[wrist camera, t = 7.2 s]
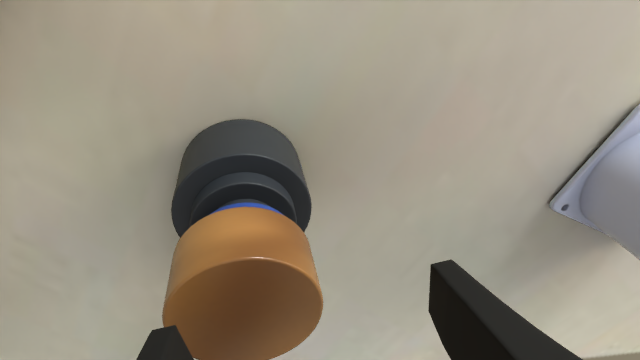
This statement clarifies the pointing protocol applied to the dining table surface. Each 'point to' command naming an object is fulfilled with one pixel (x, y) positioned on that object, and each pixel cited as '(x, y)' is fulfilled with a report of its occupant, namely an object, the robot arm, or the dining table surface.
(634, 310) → the dining table surface
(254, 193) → the dark grey cylinder
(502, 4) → the dining table surface
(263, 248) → the orange brown short cylinder
